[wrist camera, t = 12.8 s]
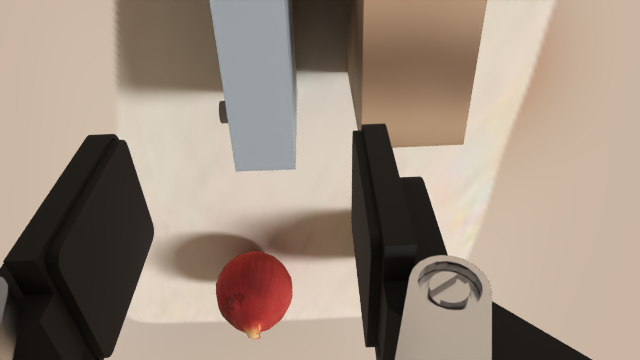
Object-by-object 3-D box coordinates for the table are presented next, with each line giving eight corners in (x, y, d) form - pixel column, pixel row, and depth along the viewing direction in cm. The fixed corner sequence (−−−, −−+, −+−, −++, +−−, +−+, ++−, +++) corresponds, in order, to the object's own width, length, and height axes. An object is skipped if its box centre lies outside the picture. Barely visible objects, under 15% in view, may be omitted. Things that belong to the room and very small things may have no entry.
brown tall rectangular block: (347, -109, 25) (365, -81, 18) (444, -113, 25) (501, -87, 18) (347, 72, 31) (361, 148, 24) (425, 69, 31) (463, 144, 24)
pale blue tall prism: (212, -80, 26) (176, -42, 18) (287, -82, 26) (281, -45, 19) (236, 92, 32) (216, 172, 24) (297, 90, 32) (295, 169, 24)
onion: (227, 280, 42) (213, 362, 36) (219, 230, 39) (202, 312, 32) (294, 278, 42) (292, 360, 36) (292, 229, 39) (289, 310, 32)
